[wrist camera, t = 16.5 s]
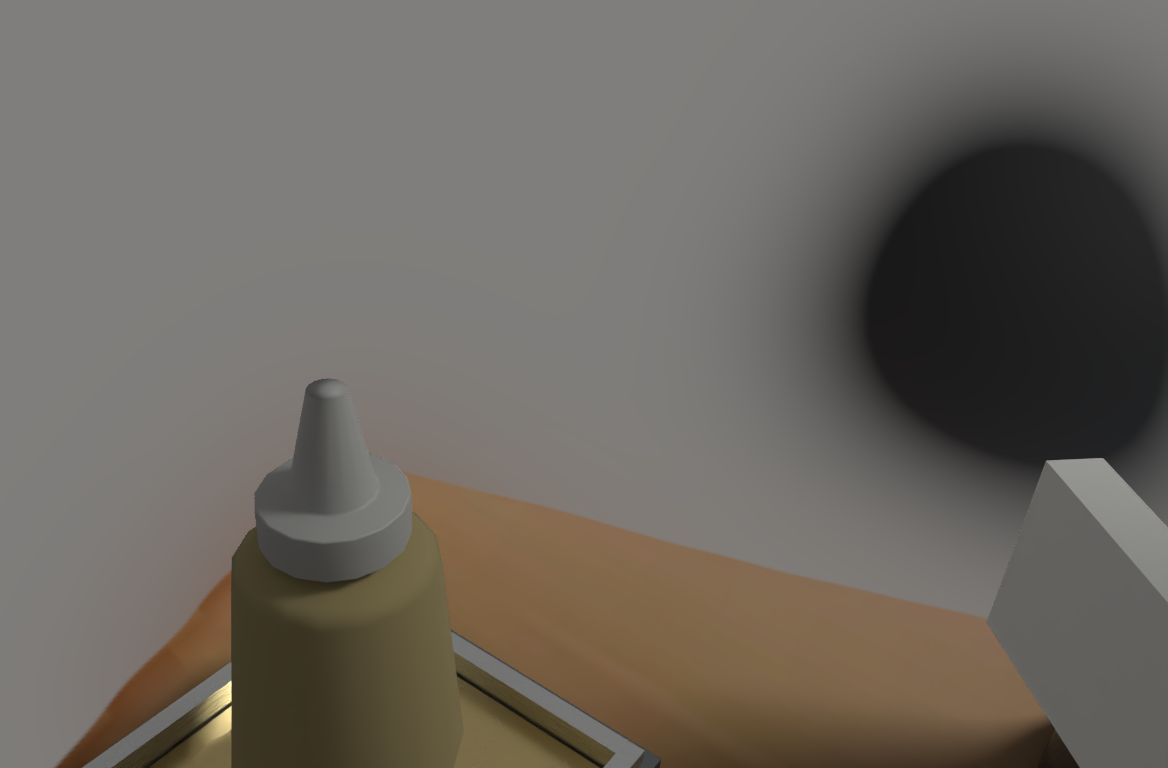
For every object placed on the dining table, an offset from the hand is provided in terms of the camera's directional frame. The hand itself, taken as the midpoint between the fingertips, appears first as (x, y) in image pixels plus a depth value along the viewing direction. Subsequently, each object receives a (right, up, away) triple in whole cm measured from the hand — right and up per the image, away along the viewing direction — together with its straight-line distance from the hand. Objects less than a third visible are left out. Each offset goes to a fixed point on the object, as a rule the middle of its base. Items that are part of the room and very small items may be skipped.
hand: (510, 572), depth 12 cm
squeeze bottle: (-8, -13, +27) cm, 31 cm away
